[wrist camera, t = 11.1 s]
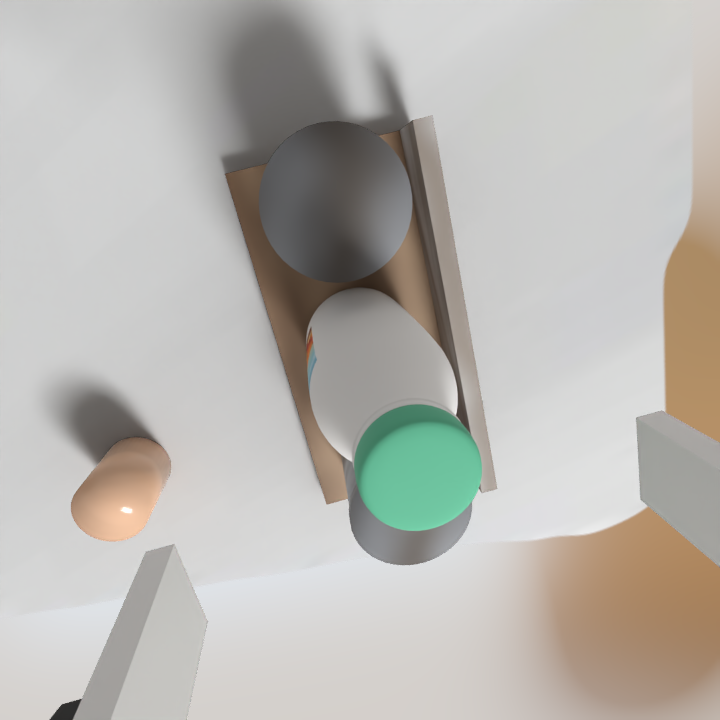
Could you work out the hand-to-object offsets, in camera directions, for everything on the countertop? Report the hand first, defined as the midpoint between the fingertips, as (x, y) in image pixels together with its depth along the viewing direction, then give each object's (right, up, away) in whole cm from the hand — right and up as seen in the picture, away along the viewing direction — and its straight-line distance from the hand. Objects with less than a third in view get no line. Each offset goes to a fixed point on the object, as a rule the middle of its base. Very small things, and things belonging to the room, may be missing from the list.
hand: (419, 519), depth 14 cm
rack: (-1, +7, +24) cm, 25 cm away
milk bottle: (-2, +6, +23) cm, 24 cm away
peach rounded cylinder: (-19, -4, +25) cm, 32 cm away
